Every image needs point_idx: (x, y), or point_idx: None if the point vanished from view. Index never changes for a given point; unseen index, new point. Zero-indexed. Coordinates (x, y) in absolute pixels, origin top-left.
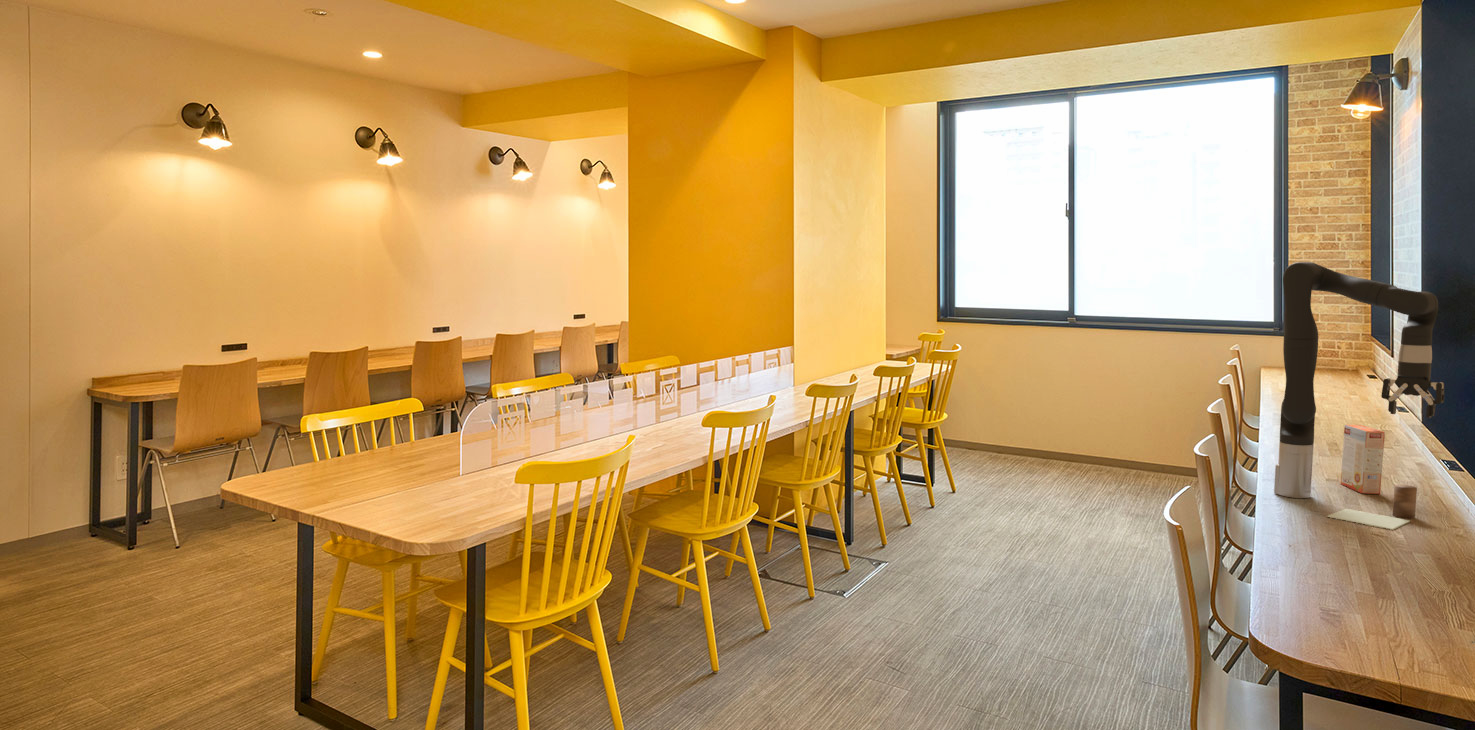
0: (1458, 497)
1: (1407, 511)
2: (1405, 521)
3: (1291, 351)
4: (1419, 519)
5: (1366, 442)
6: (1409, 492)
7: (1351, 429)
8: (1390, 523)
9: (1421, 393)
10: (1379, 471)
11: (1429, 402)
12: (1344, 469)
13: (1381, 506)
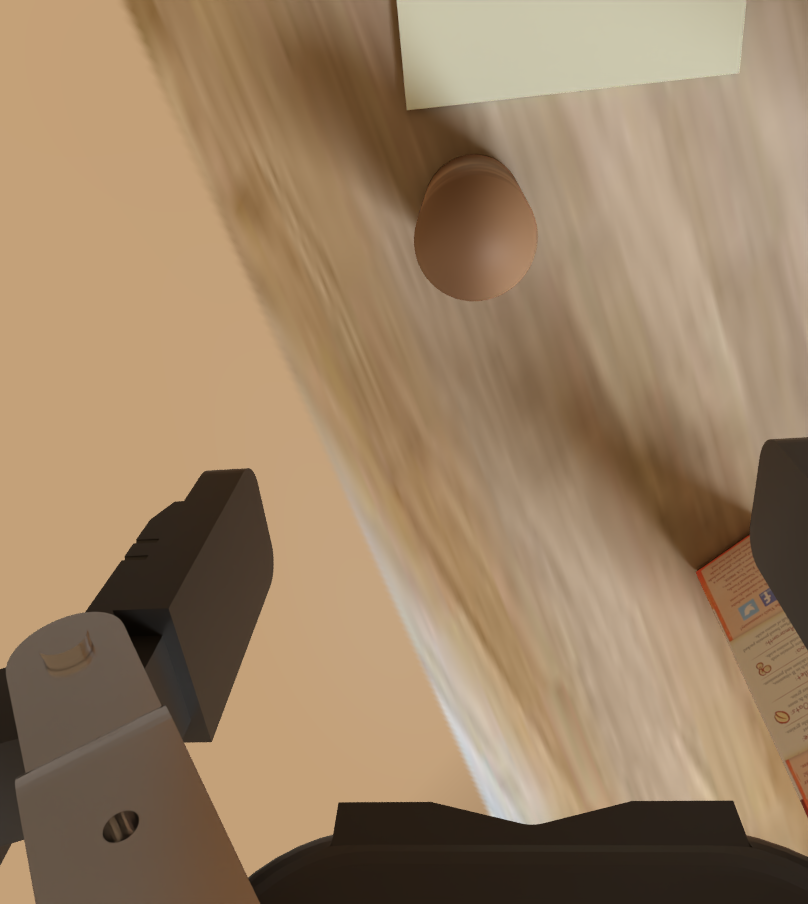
0: (468, 737)
1: (441, 170)
2: (409, 53)
3: None
4: (402, 215)
5: None
6: (435, 188)
7: None
8: None
9: (163, 853)
10: (742, 645)
11: (90, 656)
12: None
13: (620, 343)
